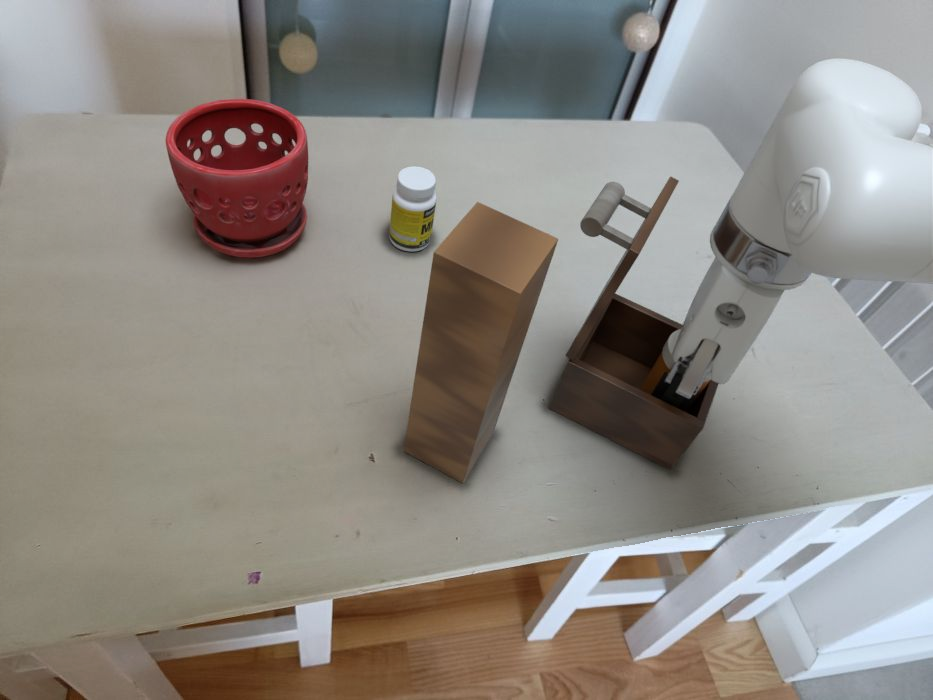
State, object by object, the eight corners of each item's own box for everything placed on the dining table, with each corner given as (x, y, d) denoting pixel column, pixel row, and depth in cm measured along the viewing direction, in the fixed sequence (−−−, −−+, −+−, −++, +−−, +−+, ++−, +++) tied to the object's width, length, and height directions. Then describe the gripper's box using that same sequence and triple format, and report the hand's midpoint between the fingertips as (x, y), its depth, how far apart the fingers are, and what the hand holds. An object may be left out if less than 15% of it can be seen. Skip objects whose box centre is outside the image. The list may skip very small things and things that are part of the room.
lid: (679, 180, 56) (624, 151, 56) (639, 254, 49) (578, 220, 50) (613, 288, 66) (567, 263, 67) (573, 360, 60) (523, 332, 60)
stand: (493, 433, 63) (558, 238, 45) (462, 483, 59) (520, 293, 41) (436, 403, 64) (477, 201, 46) (403, 451, 60) (433, 251, 42)
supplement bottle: (424, 257, 76) (432, 197, 70) (383, 246, 76) (387, 185, 70) (435, 230, 79) (444, 170, 73) (396, 219, 79) (401, 158, 73)
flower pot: (319, 196, 80) (317, 104, 71) (299, 276, 72) (293, 183, 62) (204, 181, 79) (186, 84, 69) (169, 261, 70) (144, 163, 61)
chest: (699, 391, 70) (731, 347, 64) (670, 470, 63) (703, 428, 58) (586, 337, 72) (607, 289, 67) (547, 407, 66) (567, 361, 60)
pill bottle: (693, 396, 67) (730, 344, 60) (679, 433, 64) (716, 382, 57) (645, 373, 68) (676, 319, 61) (629, 408, 64) (660, 356, 58)
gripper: (800, 336, 44) (687, 475, 58) (835, 199, 54) (732, 345, 68) (688, 286, 45) (605, 433, 59) (743, 162, 55) (661, 312, 69)
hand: (673, 385), depth 63 cm, fingers closed on pill bottle, 4 cm apart
